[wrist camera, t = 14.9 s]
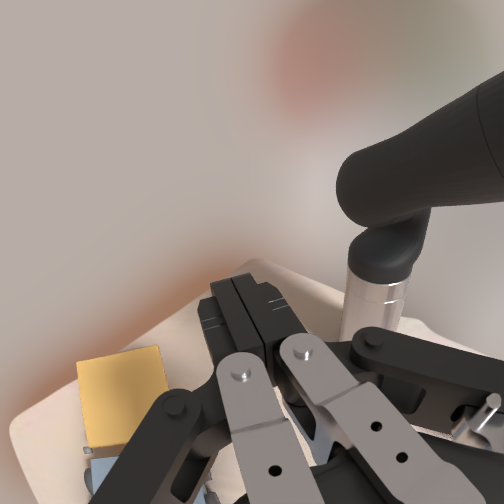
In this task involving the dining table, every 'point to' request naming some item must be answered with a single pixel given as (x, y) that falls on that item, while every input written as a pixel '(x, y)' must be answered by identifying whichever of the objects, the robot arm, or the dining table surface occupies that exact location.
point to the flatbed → (102, 466)
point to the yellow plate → (119, 394)
